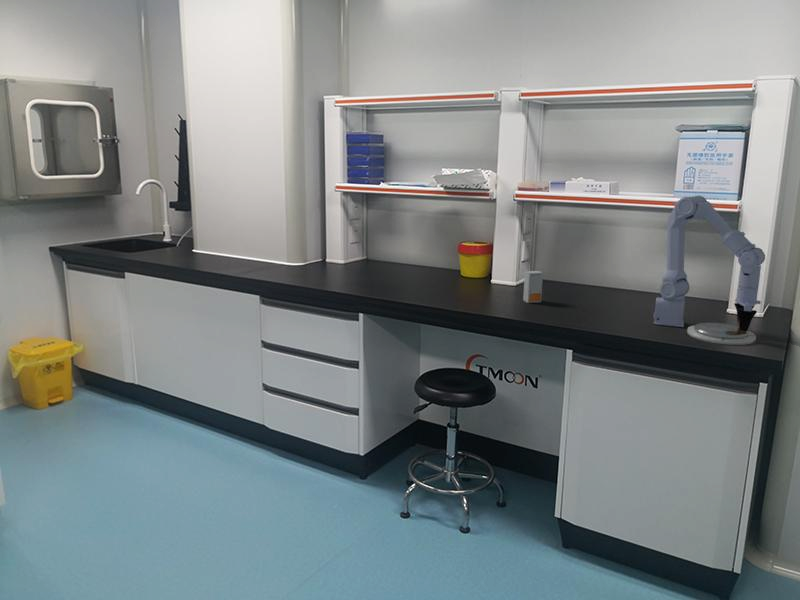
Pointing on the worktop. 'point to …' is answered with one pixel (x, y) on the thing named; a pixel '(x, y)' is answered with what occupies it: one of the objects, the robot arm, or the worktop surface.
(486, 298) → the worktop surface
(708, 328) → the dial
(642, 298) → the worktop surface
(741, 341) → the dial plate
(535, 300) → the skincare box
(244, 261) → the worktop surface
